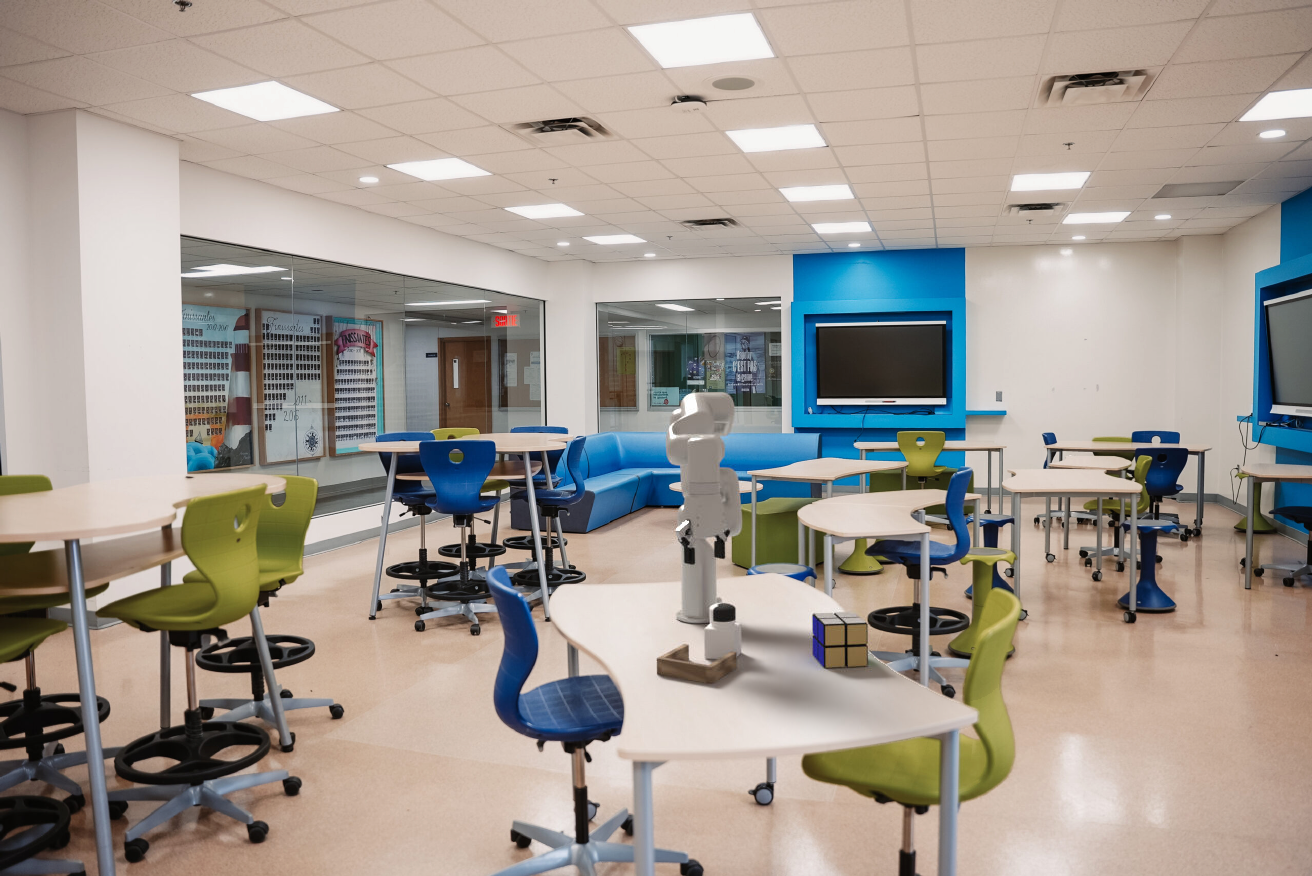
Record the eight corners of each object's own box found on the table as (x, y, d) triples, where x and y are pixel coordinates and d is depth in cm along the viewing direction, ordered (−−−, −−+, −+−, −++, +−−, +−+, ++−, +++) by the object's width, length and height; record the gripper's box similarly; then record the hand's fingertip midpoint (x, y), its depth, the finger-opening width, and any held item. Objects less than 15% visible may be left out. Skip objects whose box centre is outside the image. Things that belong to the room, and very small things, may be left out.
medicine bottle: (741, 652, 205) (741, 602, 205) (734, 661, 198) (733, 609, 198) (712, 650, 208) (711, 600, 207) (704, 658, 201) (703, 607, 200)
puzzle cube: (812, 655, 202) (811, 613, 202) (854, 653, 203) (854, 611, 203) (824, 669, 192) (823, 624, 192) (868, 667, 193) (868, 622, 193)
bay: (684, 658, 201) (684, 643, 201) (736, 667, 194) (736, 652, 194) (656, 673, 191) (656, 658, 190) (711, 683, 184) (710, 667, 183)
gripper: (719, 484, 214) (720, 553, 215) (665, 491, 203) (666, 563, 204) (741, 487, 208) (742, 558, 209) (687, 493, 197) (688, 568, 198)
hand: (704, 560), depth 207 cm, fingers open, 9 cm apart
